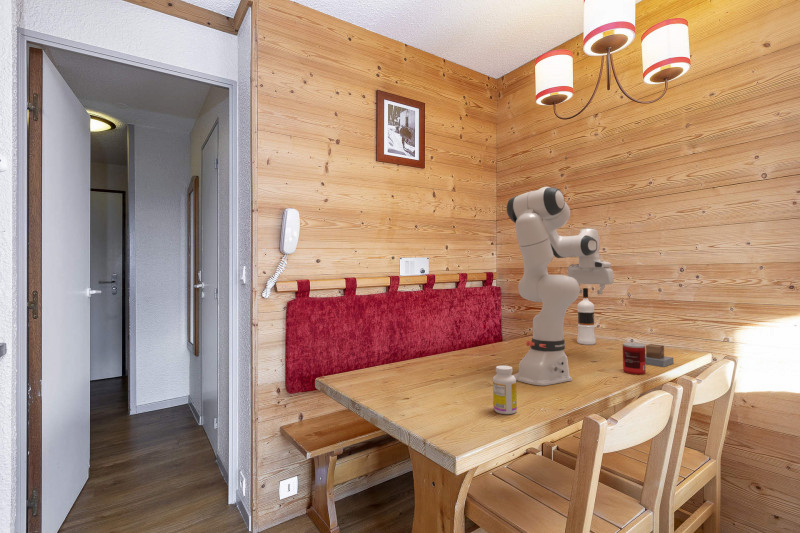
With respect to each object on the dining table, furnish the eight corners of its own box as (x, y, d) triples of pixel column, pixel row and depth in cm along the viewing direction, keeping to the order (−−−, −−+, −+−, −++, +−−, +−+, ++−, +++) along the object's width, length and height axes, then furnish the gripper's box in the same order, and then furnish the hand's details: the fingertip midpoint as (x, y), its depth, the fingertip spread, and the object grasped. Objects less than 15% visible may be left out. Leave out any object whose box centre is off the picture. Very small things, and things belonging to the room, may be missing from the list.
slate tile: (663, 367, 163) (663, 361, 163) (637, 362, 171) (637, 356, 171) (673, 363, 169) (673, 357, 169) (647, 359, 177) (647, 353, 177)
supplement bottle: (512, 406, 120) (512, 364, 120) (520, 414, 113) (519, 369, 113) (490, 407, 120) (490, 364, 120) (496, 415, 113) (496, 370, 113)
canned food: (639, 369, 160) (638, 342, 160) (649, 375, 152) (649, 346, 152) (619, 369, 161) (618, 342, 161) (628, 374, 153) (628, 346, 153)
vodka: (574, 341, 219) (573, 287, 219) (591, 341, 218) (591, 287, 219) (580, 345, 210) (579, 288, 210) (598, 345, 209) (597, 288, 209)
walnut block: (659, 359, 166) (659, 347, 166) (646, 357, 170) (646, 345, 170) (664, 357, 169) (664, 345, 169) (651, 355, 173) (651, 343, 173)
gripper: (564, 264, 189) (565, 293, 189) (607, 263, 173) (608, 295, 173) (571, 264, 193) (572, 292, 193) (614, 263, 176) (615, 294, 176)
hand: (589, 293), depth 183 cm, fingers open, 8 cm apart
